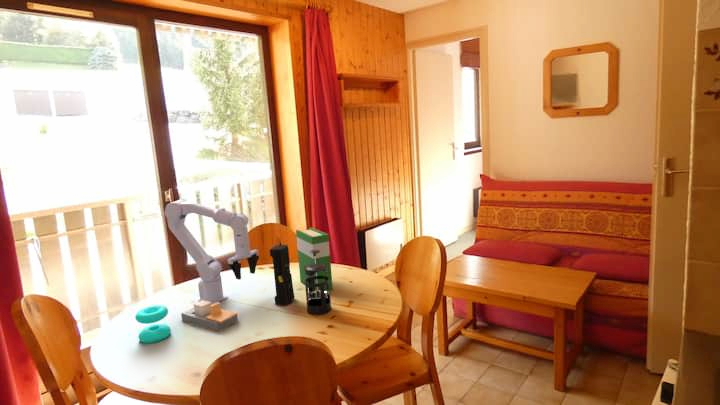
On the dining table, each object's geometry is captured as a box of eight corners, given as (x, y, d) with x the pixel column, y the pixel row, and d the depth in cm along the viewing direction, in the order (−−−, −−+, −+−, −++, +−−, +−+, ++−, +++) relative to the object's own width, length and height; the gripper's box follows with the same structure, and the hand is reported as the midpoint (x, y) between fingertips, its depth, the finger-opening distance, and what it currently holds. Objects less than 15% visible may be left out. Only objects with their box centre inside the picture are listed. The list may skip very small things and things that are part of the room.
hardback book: (300, 282, 192) (295, 230, 188) (315, 278, 196) (311, 227, 192) (316, 293, 177) (311, 237, 173) (332, 289, 180) (328, 234, 177)
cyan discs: (138, 306, 148) (169, 302, 151) (142, 333, 150) (173, 328, 152) (131, 318, 139) (165, 312, 141) (136, 346, 140) (169, 341, 143)
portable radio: (288, 306, 165) (282, 244, 161) (273, 306, 167) (267, 244, 163) (295, 298, 173) (289, 238, 169) (281, 298, 174) (275, 238, 170)
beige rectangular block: (195, 319, 158) (193, 303, 157) (204, 315, 161) (202, 300, 160) (204, 321, 155) (202, 306, 154) (213, 317, 158) (211, 302, 157)
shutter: (205, 318, 151) (204, 307, 151) (222, 310, 158) (221, 300, 157) (220, 322, 147) (219, 311, 146) (237, 314, 153) (236, 303, 153)
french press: (337, 311, 158) (332, 251, 154) (314, 318, 153) (308, 256, 150) (322, 301, 168) (318, 245, 164) (300, 307, 163) (295, 249, 160)
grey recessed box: (182, 321, 158) (181, 313, 158) (202, 311, 166) (201, 304, 165) (218, 331, 148) (217, 323, 147) (238, 321, 155) (237, 313, 154)
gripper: (234, 249, 165) (238, 283, 167) (262, 240, 177) (265, 271, 179) (222, 247, 169) (226, 280, 171) (250, 239, 181) (253, 269, 183)
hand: (245, 276), depth 176 cm, fingers open, 7 cm apart
